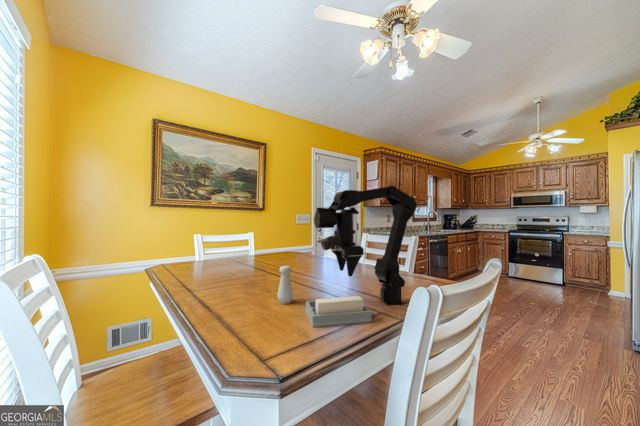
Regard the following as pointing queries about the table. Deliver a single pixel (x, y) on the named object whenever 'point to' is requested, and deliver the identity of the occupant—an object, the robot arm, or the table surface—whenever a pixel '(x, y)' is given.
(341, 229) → the robot arm
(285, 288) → the salt shaker
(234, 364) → the table surface
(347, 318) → the divided grey tray
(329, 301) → the cream rectangular block
